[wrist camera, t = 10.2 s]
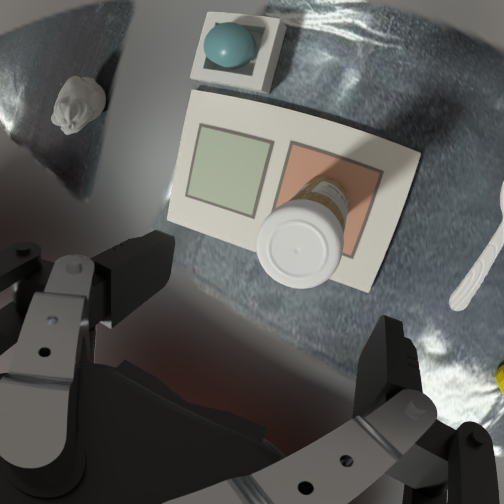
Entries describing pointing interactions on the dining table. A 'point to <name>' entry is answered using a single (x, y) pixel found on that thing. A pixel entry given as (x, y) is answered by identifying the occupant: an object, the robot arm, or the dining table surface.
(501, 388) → the watch
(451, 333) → the dining table surface
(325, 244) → the sprinkles bottle
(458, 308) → the spoon
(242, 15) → the button housing
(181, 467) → the robot arm
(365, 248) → the picture board
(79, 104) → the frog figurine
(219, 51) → the button
